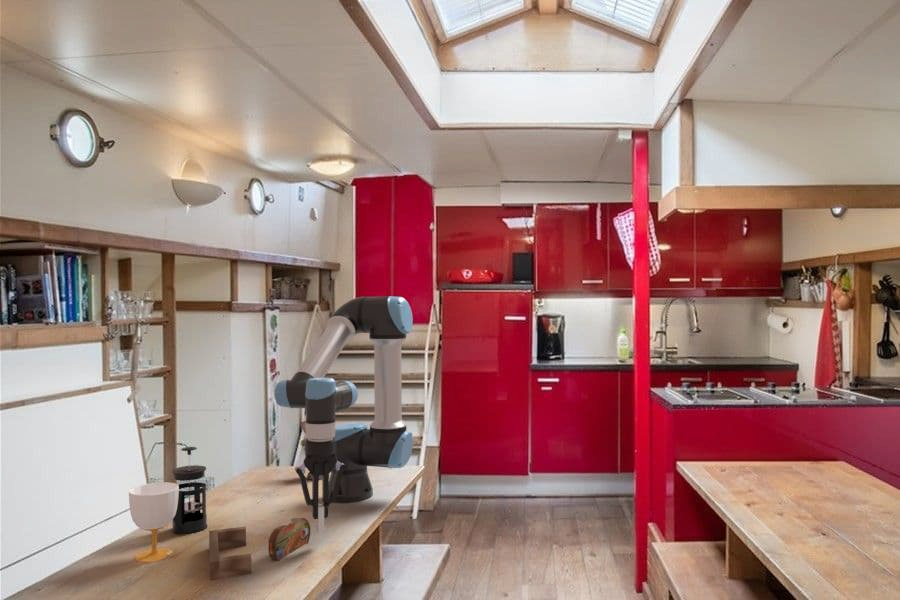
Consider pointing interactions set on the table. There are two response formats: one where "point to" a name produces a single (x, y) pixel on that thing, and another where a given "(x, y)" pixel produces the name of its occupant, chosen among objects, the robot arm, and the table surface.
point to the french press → (189, 513)
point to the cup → (153, 513)
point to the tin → (288, 538)
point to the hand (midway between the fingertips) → (320, 530)
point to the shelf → (232, 563)
